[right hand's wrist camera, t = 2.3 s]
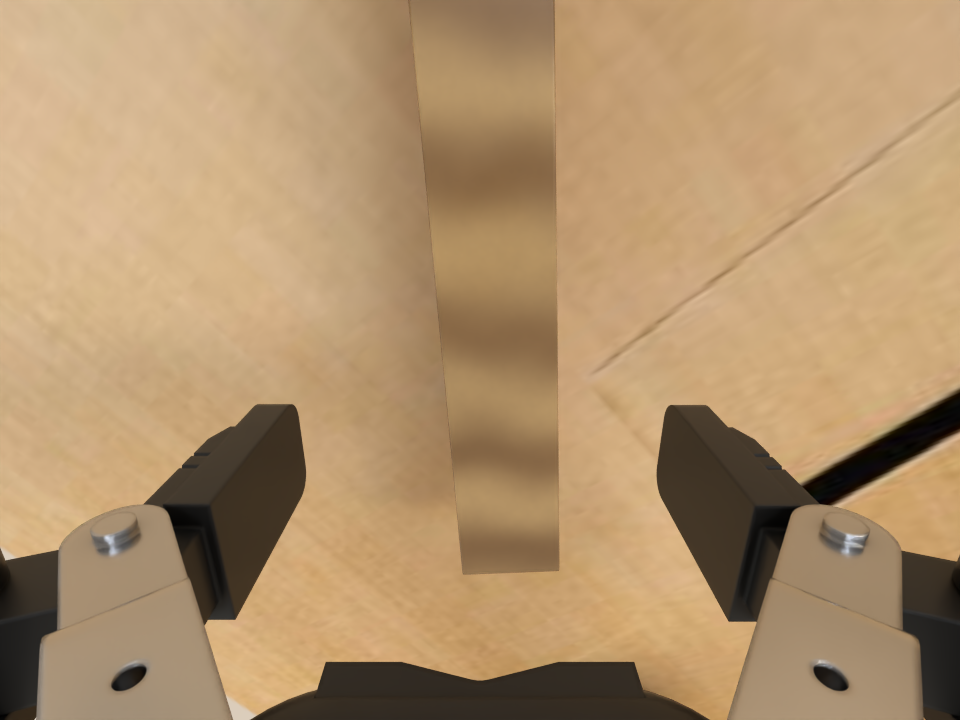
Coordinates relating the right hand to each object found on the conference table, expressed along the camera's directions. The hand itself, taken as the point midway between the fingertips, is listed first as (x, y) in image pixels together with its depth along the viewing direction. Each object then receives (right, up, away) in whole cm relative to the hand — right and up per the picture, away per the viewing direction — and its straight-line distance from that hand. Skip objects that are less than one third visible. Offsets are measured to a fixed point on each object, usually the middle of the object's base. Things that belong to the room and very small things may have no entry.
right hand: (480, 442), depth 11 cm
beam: (-1, +30, +4) cm, 31 cm away
